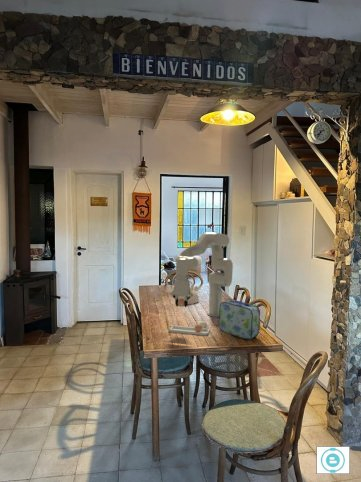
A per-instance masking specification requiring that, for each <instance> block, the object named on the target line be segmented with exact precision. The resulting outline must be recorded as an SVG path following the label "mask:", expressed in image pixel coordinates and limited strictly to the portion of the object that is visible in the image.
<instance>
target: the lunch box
mask: <svg viewBox="0 0 361 482" xmlns="http://www.w3.org/2000/svg"><path fill="white" fill-rule="evenodd" d="M260 318H261V309H260V308H259V306H256V305H254V304H252V303H251V304H250V303H247V302H243V301H241V300H236V299H231V298H230V299H228V300H224V301H222V303H221V304H220V308H219V317H218V327H219V330H220V331H222V332H225V333H228V334H230V335H232V336H234V337H238V338H241V339H244V340H252V339H254V338H257V337H258V335H259V333H260V330H261V321H260V320H261V319H260Z"/></svg>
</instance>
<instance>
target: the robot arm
mask: <svg viewBox="0 0 361 482" xmlns="http://www.w3.org/2000/svg"><path fill="white" fill-rule="evenodd" d="M229 244H230V238H229V236H228V235H227V234H224V233H220V232H219V233H218V232H203V233H202V234H201V235H200V237H199V238H198V239H197V240H196V242H195V243H194V244H192V245H190V246H189V247H187V248H185V249H184V250H183V251H182V252H181V253H180V254H179V256H178V257H177V258H176V261H175V264H176V265H175V279H174V282H173V289H172V290H171V292H170V295H171V297H172V298H173V299H174V302H175V307H178V306H179V305H178V296H185V305H184V308H187V307H188V305H189V304H188V299H189V298H191V297H192V296H193V294H192V293H191V291H190V288H191V283H190V282H189V281H190V279H191V276H189V270H194V269H196V268H197V267H198V265H199V260H198V259H197V258H196V257H197V256H199V255H203V254H204V253H205V252H206V251H207V249H208V248H210V250H211V262H210V264H211V266H210V267H211V269H212V270H214V271H213V272H211V273H209V274H208V285H209V287H208V288H209V292H208V293H209V299H208V301H209V303H208V307H209V308H208V311H207V312H206V315H207V316H210V317H214V318H215V317H217V318H219V308H220V304H221V303H222V302H223V289H222V287H227V288H228V287H231V285H232V282H233V270H234V268H233V267H234V264H233V262H232V259H230V258H226V257H224V249H223V247H227V246H228V245H229ZM189 294H190V296H189V297H188V295H189Z"/></svg>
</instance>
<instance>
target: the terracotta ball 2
mask: <svg viewBox="0 0 361 482" xmlns="http://www.w3.org/2000/svg"><path fill="white" fill-rule="evenodd" d="M194 329H195V331H196V332H201V331H202V326H201V325H200V323H197V324H195V326H194Z"/></svg>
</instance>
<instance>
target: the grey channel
mask: <svg viewBox="0 0 361 482" xmlns="http://www.w3.org/2000/svg"><path fill="white" fill-rule="evenodd" d="M194 327H195V326H194ZM194 327H193V326H191V327H190V326H182V325H172V326H171V327H170V329H168V330H169V333H178V334H189V335H198V336H199V335H200V336H206V337H207V336H209V333H210V330H211V329H210V328H202V331H201V332H196V331H195V329H194Z"/></svg>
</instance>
